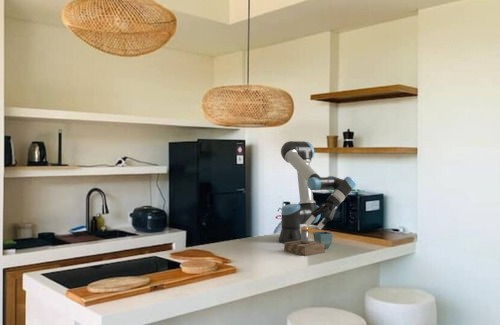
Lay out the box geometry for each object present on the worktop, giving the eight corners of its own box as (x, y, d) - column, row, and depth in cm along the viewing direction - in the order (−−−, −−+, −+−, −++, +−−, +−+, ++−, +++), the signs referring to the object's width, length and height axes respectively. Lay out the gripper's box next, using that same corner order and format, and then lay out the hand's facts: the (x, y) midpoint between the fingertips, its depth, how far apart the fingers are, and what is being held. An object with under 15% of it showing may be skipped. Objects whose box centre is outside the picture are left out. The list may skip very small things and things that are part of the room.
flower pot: (325, 246, 288) (325, 231, 287) (333, 248, 279) (333, 233, 279) (312, 247, 284) (312, 232, 284) (320, 249, 276) (320, 234, 276)
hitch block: (284, 251, 270) (284, 242, 270) (303, 248, 280) (303, 239, 280) (304, 256, 257) (305, 246, 257) (324, 252, 268) (324, 243, 268)
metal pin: (299, 251, 269) (299, 227, 269) (304, 250, 272) (304, 226, 271) (304, 252, 266) (304, 228, 266) (309, 252, 268) (309, 227, 268)
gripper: (351, 205, 264) (327, 234, 259) (328, 201, 287) (306, 227, 282) (343, 196, 262) (319, 225, 257) (320, 193, 285) (298, 219, 280)
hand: (312, 226), depth 269 cm, fingers open, 13 cm apart
